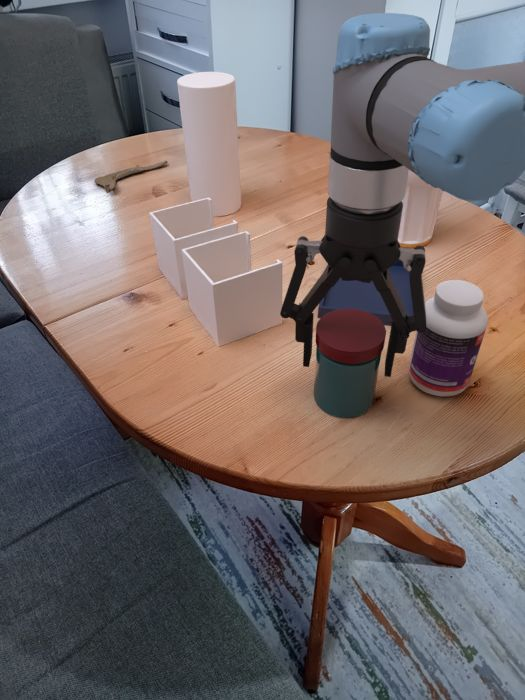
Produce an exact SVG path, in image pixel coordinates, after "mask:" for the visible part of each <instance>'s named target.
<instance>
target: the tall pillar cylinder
mask: <svg viewBox="0 0 525 700" xmlns="http://www.w3.org/2000/svg"><path fill="white" fill-rule="evenodd" d="M176 84H177V85H176V86H177V93H178V100H179V110H180V120H181V127H182V135H183V136H182V137H183V144H184V145H183V146H184V153H185V161H186V169H187V179H188V187H189V195H190V202H193V201H197V200H201V199H204V198H208V197H209V198H210V199H212V207H213V218H216V217H219V218H220V217H226V216H228V215H229V216H230V215H232V214H234V213H236V212H237V211H239V210H240V209H241V207H242V188H241V187H242V186H241V169H240V167H241V166H240V149H239V130H238V111H237V90H236V78H235V76H234V75H233V74H230V73H227V72H222V71H200V72H199V71H198V72H193V73H188V74H184V75H182V76H179V78H178V79H177V81H176Z"/></svg>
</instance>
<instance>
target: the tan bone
mask: <svg viewBox="0 0 525 700" xmlns="http://www.w3.org/2000/svg"><path fill="white" fill-rule="evenodd" d="M167 164H169V162H168V160H164V161H161V162H157V163H155V164H152V165H147V166H135V167H134V166H133V167H129V168H125V169H122V170H118V171H114V172H112V173H108V174H105V175H103V176H98V177H95V179H94V180H93V182H94V183H95V185H97V184H98V185H99V186H100V185H101V186H102V187H104V191H105V192H106V193H109V192H110V191H111V190H113V189H114V188H115V187H116V184H117V182H116V181H118V180H120V179H122V178H125V177H128V176H130V175H134V174H137V173H140V172H144V171H150V170H153V169H158V168H162V167H163V166H165V165H167Z"/></svg>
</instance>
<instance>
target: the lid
mask: <svg viewBox="0 0 525 700" xmlns="http://www.w3.org/2000/svg"><path fill="white" fill-rule="evenodd" d="M386 337H387V329H386V325H384V324H383V323H382V321H381V320H380V319H378V318H377V317H376V316H374V315H372V314H370V313H368V312H365V311H362V310H357V309H339V310H334V311H331V312H329V313H327V314H325V315H324V316H322V317H321V318H319V319H318V321H317V323H316V328H315V344H316V345H317V347H318V349H319V350H320V351H321V352H322V353H323V354H324V355H325V356H327V357H328V358H330V359H332V360H334V361H337V362H341V363H347V364H360V363H365V362H368V361H371V360H373V359H375V358H376V357H377V356H379V355H380V353H381V352H382V353H383V351H384V348H385V343H386ZM316 345H315V346H316Z"/></svg>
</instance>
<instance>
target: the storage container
mask: <svg viewBox="0 0 525 700" xmlns="http://www.w3.org/2000/svg"><path fill="white" fill-rule="evenodd" d="M148 214H149V219H150V226H151V232H152V237H153V241H154V242H153V243H154V249H155V255H156V260H157V265H158V270H159V271H160V272H161V274H162V275H163V276H164V278H165V279H166V280H167V281H168V283H169V284H170V285H171V287H172V288H173V290H175V292H176V293H177V294H178V296H179V298H180V299H181V300H185V299H188V300H187V301H188V306H189V310H190V311H191V313H192V314H193V315H194V317H195V318H196V319H197V321H198V322H199V323H200V325H202V328H204V329H205V331H206V333H207V334H208V335H209V336H210V338H211V339H212V340H213V341H214V343H215V344H216V345H217V346H218V347H222V346H225V345H227V344H231V343H233V342H236V341H239V340H241V339H244V338H246V337H250V336H252V335H255V334H257V333H260V332H263V331H265V330H268V329H271V328H274V327H276V326H280V325H282V324H283V317H281V315H280V312H281V309H282V305H283V262H282V261H281V260H280V259H276V260H275V262H274V263H272V264H269V265H266V266H262V267H260V268H257V269H254V270H252V252H251V251H252V250H251V233H250V232H248V231H247V230H245V231H241V232H239V223H238V222H237V220H235V219H233V220H231V221H232V222H231V223H228V224H224V225H220V226H218V227H215V220H214V218H215V217H213V207H212V199H210V198H209V197H208V198H204V199H201V200H197V201H193V202H191V201H190V202H189V201H188V202H186V203H185V202H184V203H181V204H177V205H173V206H169V207H165V208H162V209H157V210H154V211H150V212H148Z"/></svg>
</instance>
